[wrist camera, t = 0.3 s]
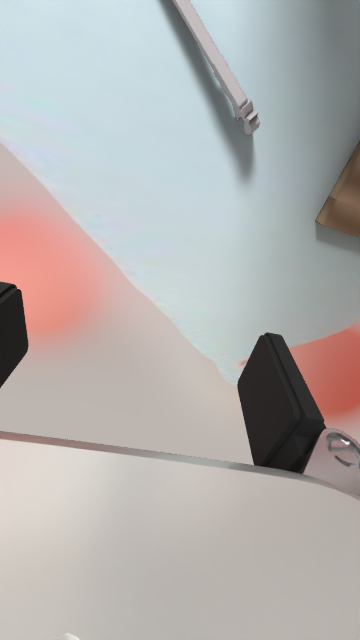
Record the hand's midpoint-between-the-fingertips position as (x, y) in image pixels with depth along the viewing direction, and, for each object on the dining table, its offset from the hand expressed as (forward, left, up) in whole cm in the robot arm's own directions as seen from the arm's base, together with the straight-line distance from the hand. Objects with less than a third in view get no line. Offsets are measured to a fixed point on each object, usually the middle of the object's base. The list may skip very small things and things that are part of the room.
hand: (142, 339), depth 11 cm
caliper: (-16, -2, -31) cm, 35 cm away
